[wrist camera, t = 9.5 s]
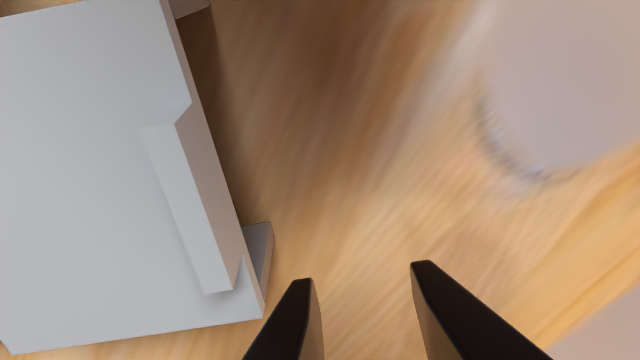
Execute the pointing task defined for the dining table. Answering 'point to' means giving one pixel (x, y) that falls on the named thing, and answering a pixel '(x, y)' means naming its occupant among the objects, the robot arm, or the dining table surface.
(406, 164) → the dining table surface
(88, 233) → the lid
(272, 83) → the dining table surface
